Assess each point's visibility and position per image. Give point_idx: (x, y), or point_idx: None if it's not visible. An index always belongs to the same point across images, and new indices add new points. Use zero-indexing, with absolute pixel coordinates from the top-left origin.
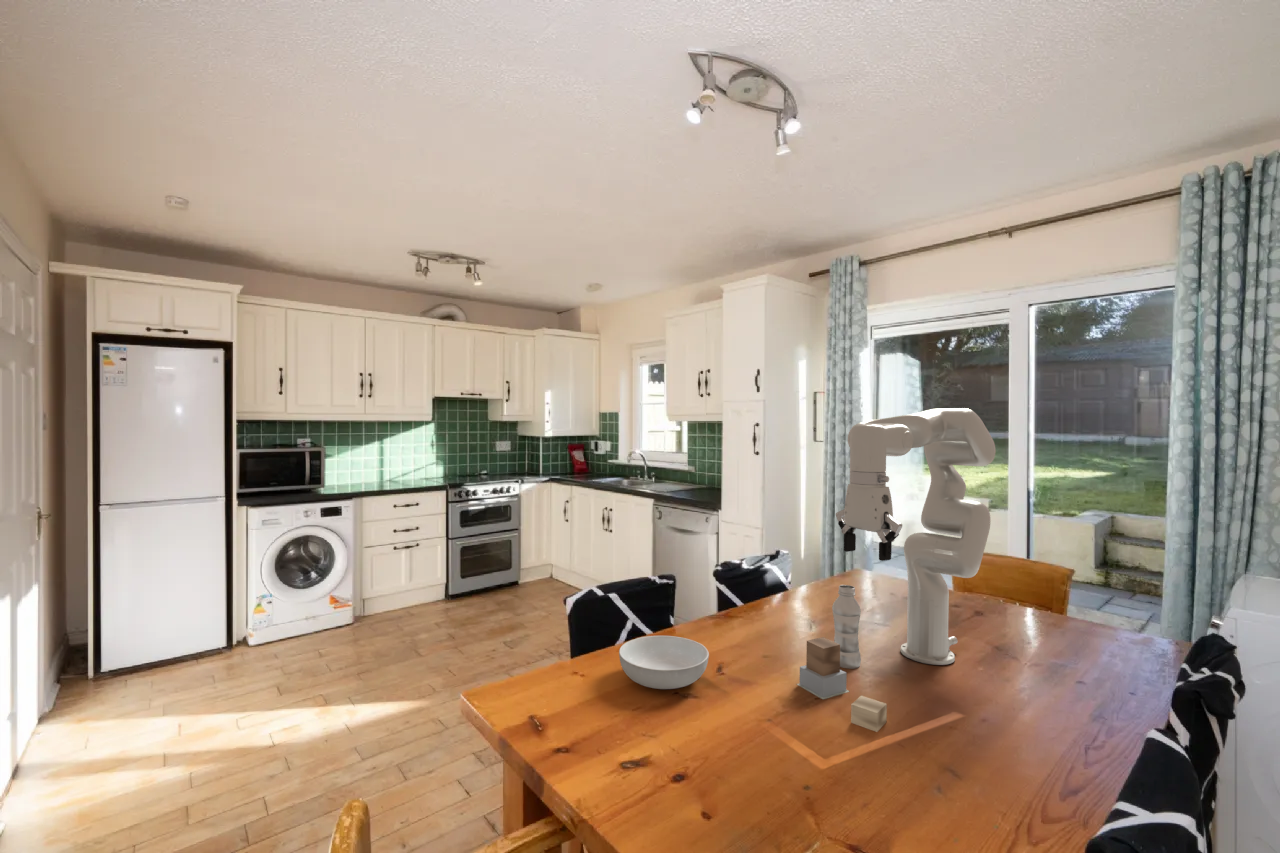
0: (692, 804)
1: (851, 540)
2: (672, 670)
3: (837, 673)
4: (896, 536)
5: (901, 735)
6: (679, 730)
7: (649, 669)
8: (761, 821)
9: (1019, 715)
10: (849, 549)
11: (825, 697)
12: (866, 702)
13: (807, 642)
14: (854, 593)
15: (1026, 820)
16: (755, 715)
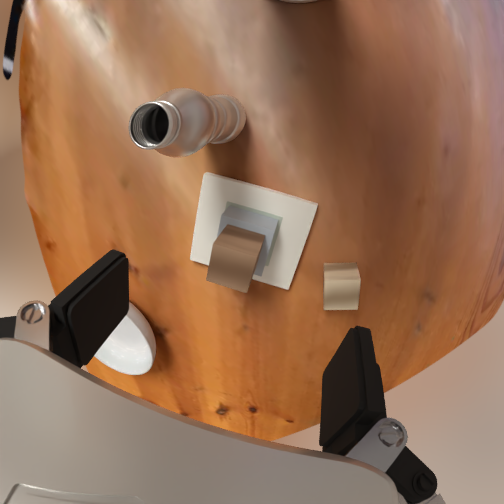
0: (277, 419)
1: (96, 316)
2: (150, 368)
3: (265, 243)
4: (421, 471)
5: (375, 265)
6: (206, 376)
7: (139, 374)
8: (318, 412)
9: (472, 105)
10: (124, 299)
11: (267, 259)
12: (337, 293)
13: (209, 279)
14: (178, 117)
15: (472, 318)
16: (229, 327)
